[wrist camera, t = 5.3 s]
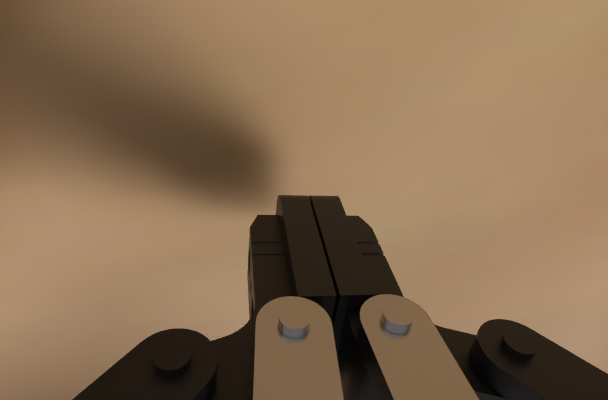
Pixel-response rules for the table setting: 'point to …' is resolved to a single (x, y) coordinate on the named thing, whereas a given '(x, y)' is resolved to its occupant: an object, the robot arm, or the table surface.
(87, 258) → the table surface
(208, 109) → the table surface
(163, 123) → the table surface
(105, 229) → the table surface
